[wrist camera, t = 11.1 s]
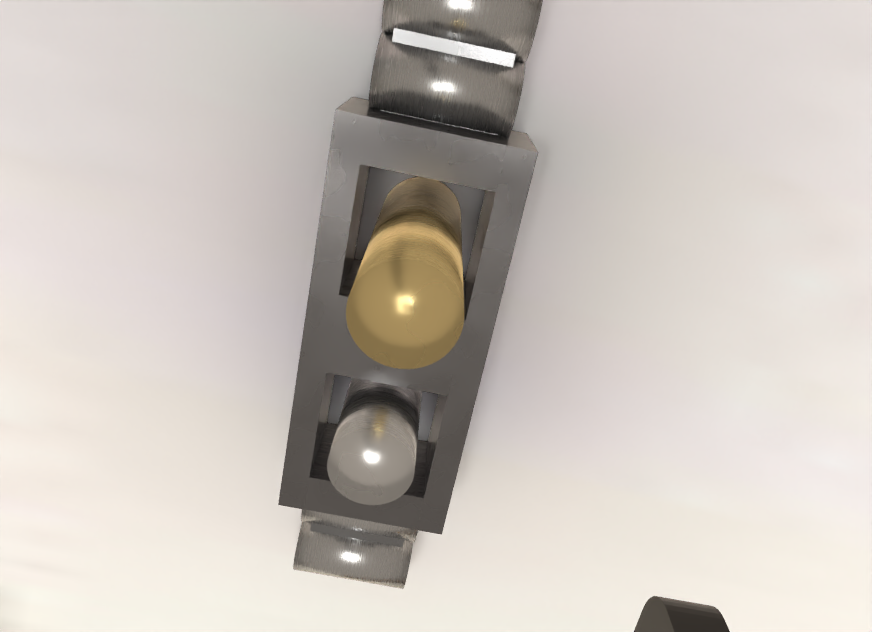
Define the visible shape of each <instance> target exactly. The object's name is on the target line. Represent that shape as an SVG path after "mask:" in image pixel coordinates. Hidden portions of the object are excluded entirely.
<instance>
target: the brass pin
mask: <svg viewBox="0 0 872 632" xmlns="http://www.w3.org/2000/svg"><path fill="white" fill-rule="evenodd" d="M346 321H347V326H348V329H349V332H350V334H351V336H352V338H353V340H354V342H355V343H356V345H357V346H358V347H359V348H360V349H361V350H362V351H363V352H364V353H365V354H366V355H367V356H368V357H370V358H371V359H373V360H374V361H376V362H378V363H380V364H383V365H385V366H388V367H392V368H398V369H416V368H421V367H425V366H428V365H430V364H433V363H435V362H437V361H438V360H440V359H441V358H443V357H444V356H445V355H446V354H447V353H449V352H450V350H451V349H452V348H453V347H454V346H455V344H456V343H457V341H458V339H459V337H460V335H461V332H462V329H463V324H464V292H463V263H462V234H461V211H460V206H459V203H458V200H457V198H456V197H455V195H454V193H453V192H452V191H451V190H450V189H449V188H448V187H447V186H446V185H445V184H443V183H442V182H440V181H438V180H434V179H429V178H424V177H413V178H409V179H406V180H404V181H402V182H400V183H399V184H397V185H396V186H395V187H394V188H393V189H392V190H391V191H390V192H389V194H388V195H387V197H386V199H385V201H384V204H383V206H382V209H381V212H380V214H379V217H378V220H377V222H376V225H375V228H374V230H373V233H372V236H371V238H370V241H369V244H368V246H367V249H366V252H365V254H364V257H363V260H362V262H361V265H360V268H359V270H358V273H357V276H356V278H355V281H354V284H353V286H352V289H351V292H350V294H349V297H348V301H347V305H346Z"/></svg>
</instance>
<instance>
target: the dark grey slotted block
mask: <svg viewBox="0 0 872 632" xmlns="http://www.w3.org/2000/svg"><path fill="white" fill-rule="evenodd" d="M542 1H543V0H384V5H383V14H382V31H383V32H382V33H381V36H380V39H379V43H378V47H377V51H376V56H375V61H374V66H373V72H372V78H371V85H370V93H369V100H366V99H361V98H356V97H352V98H350V99H349V100H348V101H346V102H345V103H344V104H342V105H341V106H340V107H338V108H337V109H336V110H335V117H334V124H333V131H332V138H331V144H330V151H329V158H328V165H327V172H326V179H325V186H324V193H323V200H322V207H321V214H320V220H319V227H318V234H317V241H316V248H315V255H314V262H313V269H312V276H311V283H310V290H309V297H308V303H307V310H306V317H305V324H304V331H303V338H302V345H301V352H300V359H299V366H298V373H297V380H296V386H295V393H294V400H293V407H292V414H291V421H290V428H289V435H288V442H287V449H286V456H285V462H284V469H283V476H282V483H281V490H280V497H279V504H278V505H283V506H288V507H294V508H299V509H302V516H301V521H302V525H301V529H300V533H299V538H298V543H297V547H296V553H295V558H294V566H293V569H294V570H300V571H305V572H311V573H317V574H322V575H328V576H334V577H339V578H345V579H351V580H356V581H362V582H367V583H373V584H379V585H384V586H390V587H396V588H401V589H403V588H404V585H405V582H406V578H407V573H408V569H409V563H410V558H411V552H412V545H413V541H415V539H416V535H417V531H418V530H420V531H426V532H431V533H437V534H442V531H443V527H444V523H445V519H446V515H447V511H448V507H449V503H450V499H451V495H452V491H453V487H454V483H455V479H456V475H457V471H458V468H459V464H460V460H461V456H462V452H463V448H464V444H465V440H466V436H467V432H468V428H469V424H470V420H471V416H472V412H473V408H474V404H475V400H476V396H477V392H478V388H479V384H480V380H481V376H482V373H483V369H484V365H485V361H486V357H487V353H488V349H489V345H490V341H491V337H492V333H493V329H494V325H495V321H496V317H497V313H498V309H499V305H500V301H501V297H502V293H503V289H504V285H505V281H506V278H507V274H508V270H509V266H510V262H511V258H512V254H513V250H514V246H515V242H516V238H517V234H518V230H519V226H520V222H521V218H522V214H523V210H524V206H525V202H526V198H527V194H528V190H529V186H530V183H531V179H532V175H533V171H534V167H535V163H536V159H537V155H538V151H537V149H536V148H535V146H534V145H533V143H532V141H531V140H530V138H529V136H528V135H527V133H522V132H517V131H513V130H512V127H513V124H514V120H515V117H516V113H517V109H518V105H519V100H520V96H521V91H522V85H523V80H524V73H525V62H526V60H527V58H528V55H529V52H530V49H531V46H532V43H533V40H534V36H535V32H536V28H537V24H538V20H539V16H540V11H541V6H542ZM370 166H371V167H375V168H380V169H385V170H390V171H395V172H400V173H404V174H409V175H414V176H419V177H424V178H429V179H434V180H438V181H443V182H448V183H453V184H458V185H463V186H467V187H472V188H477V189H482V190H485V195H484V199H483V203H482V208H481V212H480V217H479V221H478V225H477V230H476V234H475V238H474V243H473V247H472V251H471V256H470V260H469V264H468V269H467V273H466V277H465V281H463V292H464V324H463V329H462V332H461V335H460V337H459V339H458V341H457V343H456V344H455V346H454V347H453V348H452V349H451V350H450V352H449V353H447V354H446V355H445V356H444V357H443V358H441V359H440V360H438V361H437V362H435V363H433V364H430V365H428V366H425V367H421V368H416V369H398V368H392V367H388V366H385V365H383V364H380V363H378V362H376V361H374V360H373V359H371V358H370V357H368V356H367V355H366V354H365V353H364V352H363V351H362V350H361V349H360V348H359V347H358V346H357V345H356V343H355V342H354V340H353V338H352V336H351V334H350V332H349V329H348V326H347V321H346V305H347V301H348V297H349V294H350V292H351V289H352V286H353V284H354V281H355V278H356V276H357V273H358V270H359V268H360V265H361V262H362V260H357V259H354V257H355V251H356V245H357V239H358V233H359V227H360V221H361V215H362V209H363V203H364V197H365V191H366V185H367V179H368V173H369V167H370ZM335 374H336V375H341V376H346V377H352V378H351V381H350V385H349V388H348V392H347V395H346V399H345V402H344V405H343V409H342V412H341V416H340V419H339V422H338V425H335V424H330V423H327V419H328V413H329V407H330V401H331V395H332V389H333V383H334V377H335ZM422 391H425V392H430V393H435V394H439V395H438V399H437V404H436V408H435V412H434V417H433V421H432V425H431V430H430V434H429V438H428V442H425V441H420V440H418V430H419V419H420V408H421V398H422Z"/></svg>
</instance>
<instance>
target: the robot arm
mask: <svg viewBox="0 0 872 632" xmlns="http://www.w3.org/2000/svg"><path fill="white" fill-rule="evenodd" d="M634 632H730V631H729V629H728V627H727V624H726V622H725V620H724V618H723V616H722V614H721V613H720V612H719V610H718V609H716V608H715V607H713V606H709V605H703V604H697V603H692V602H686V601H680V600H674V599H669V598H663V597H657V596H653V597H651V598H650V599H649V600H648V601H647V602H646V604H645V606H644V608H643V610H642V613H641V615H640V618H639V620H638V623H637V625H636V628H635V630H634Z"/></svg>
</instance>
